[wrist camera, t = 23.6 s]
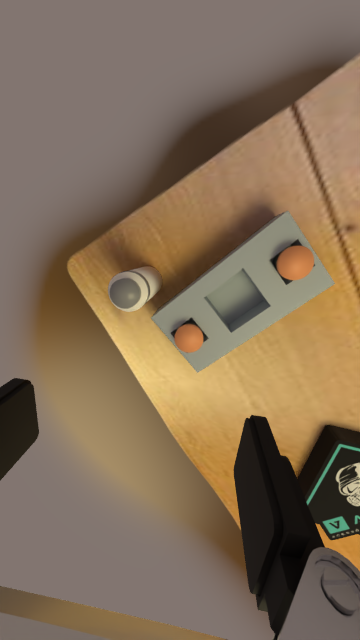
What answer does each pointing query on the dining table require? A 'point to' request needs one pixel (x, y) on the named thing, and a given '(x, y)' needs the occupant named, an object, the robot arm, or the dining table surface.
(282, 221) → the housing
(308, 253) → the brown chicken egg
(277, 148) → the dining table surface
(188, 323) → the orange knob plunger
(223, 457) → the dining table surface
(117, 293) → the cartridge
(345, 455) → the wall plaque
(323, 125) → the dining table surface
